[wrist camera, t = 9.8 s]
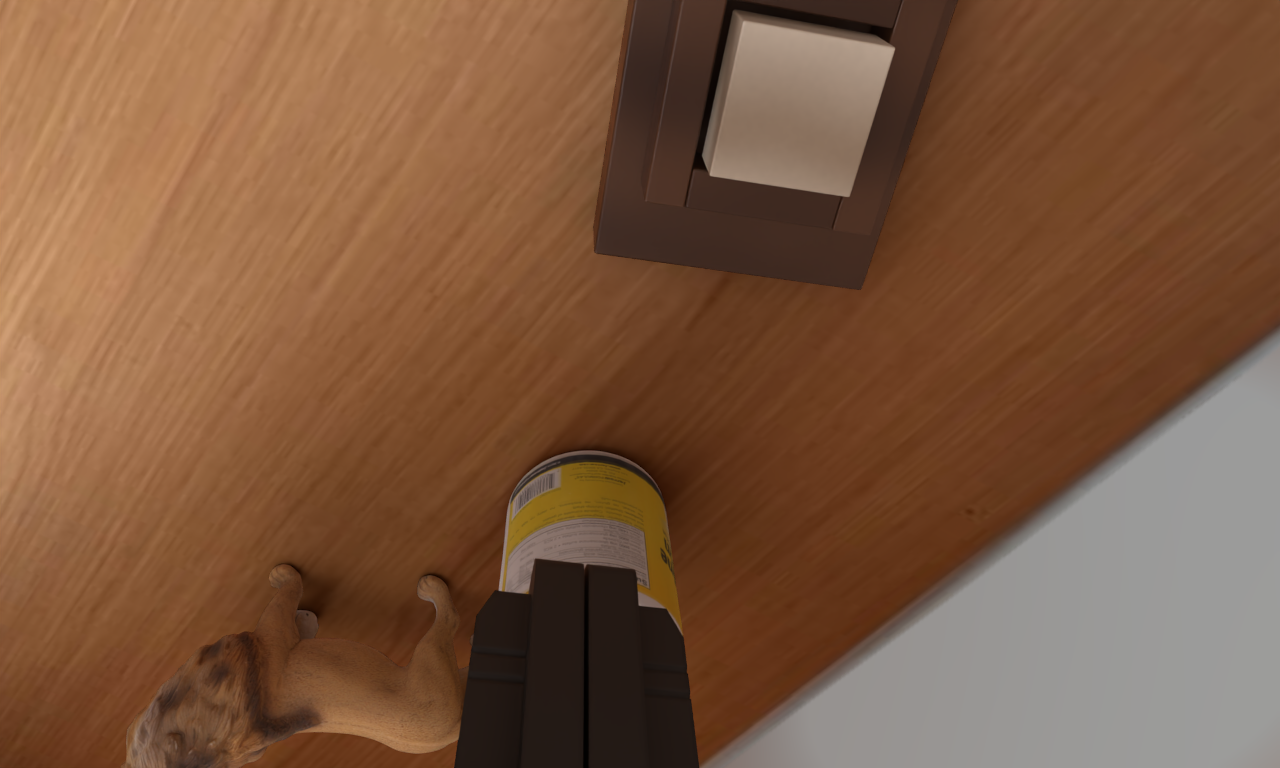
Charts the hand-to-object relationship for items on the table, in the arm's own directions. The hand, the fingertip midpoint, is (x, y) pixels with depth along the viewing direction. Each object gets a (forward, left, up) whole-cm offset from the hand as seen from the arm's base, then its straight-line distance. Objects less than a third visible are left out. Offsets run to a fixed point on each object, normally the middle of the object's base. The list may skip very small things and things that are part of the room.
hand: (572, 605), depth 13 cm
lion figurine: (+20, -7, -19) cm, 29 cm away
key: (-5, +5, -15) cm, 17 cm away
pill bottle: (+13, +2, -19) cm, 23 cm away
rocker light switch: (-5, +5, -19) cm, 20 cm away
